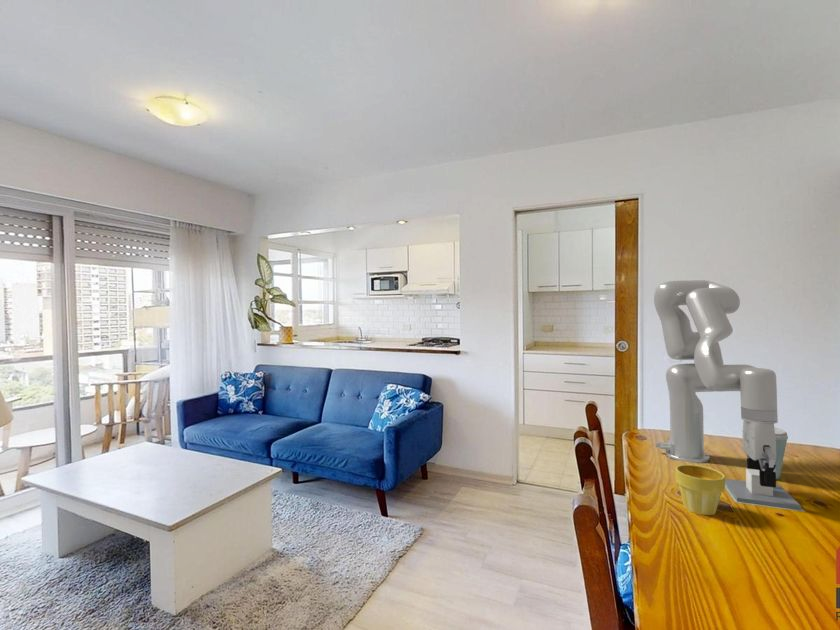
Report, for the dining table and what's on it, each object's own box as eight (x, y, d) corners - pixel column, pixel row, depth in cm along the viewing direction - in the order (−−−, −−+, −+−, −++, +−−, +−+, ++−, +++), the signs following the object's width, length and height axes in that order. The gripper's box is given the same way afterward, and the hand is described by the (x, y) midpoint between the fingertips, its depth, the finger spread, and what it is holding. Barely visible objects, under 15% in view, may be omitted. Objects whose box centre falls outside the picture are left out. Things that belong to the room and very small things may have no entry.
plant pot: (717, 503, 107) (716, 466, 107) (732, 523, 97) (732, 482, 97) (671, 498, 110) (670, 462, 110) (682, 516, 101) (681, 477, 101)
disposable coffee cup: (781, 472, 125) (780, 423, 125) (795, 487, 115) (795, 433, 115) (738, 467, 130) (737, 420, 130) (748, 481, 120) (748, 429, 120)
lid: (737, 501, 107) (736, 478, 107) (723, 481, 119) (722, 461, 119) (801, 510, 102) (801, 486, 102) (780, 488, 114) (780, 467, 114)
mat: (735, 503, 107) (735, 502, 107) (720, 482, 120) (720, 480, 120) (805, 513, 101) (804, 511, 101) (781, 489, 114) (781, 488, 114)
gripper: (732, 407, 119) (734, 466, 119) (752, 421, 103) (754, 490, 103) (764, 409, 116) (766, 470, 116) (790, 423, 100) (793, 494, 100)
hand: (761, 479), depth 110 cm, fingers open, 9 cm apart
